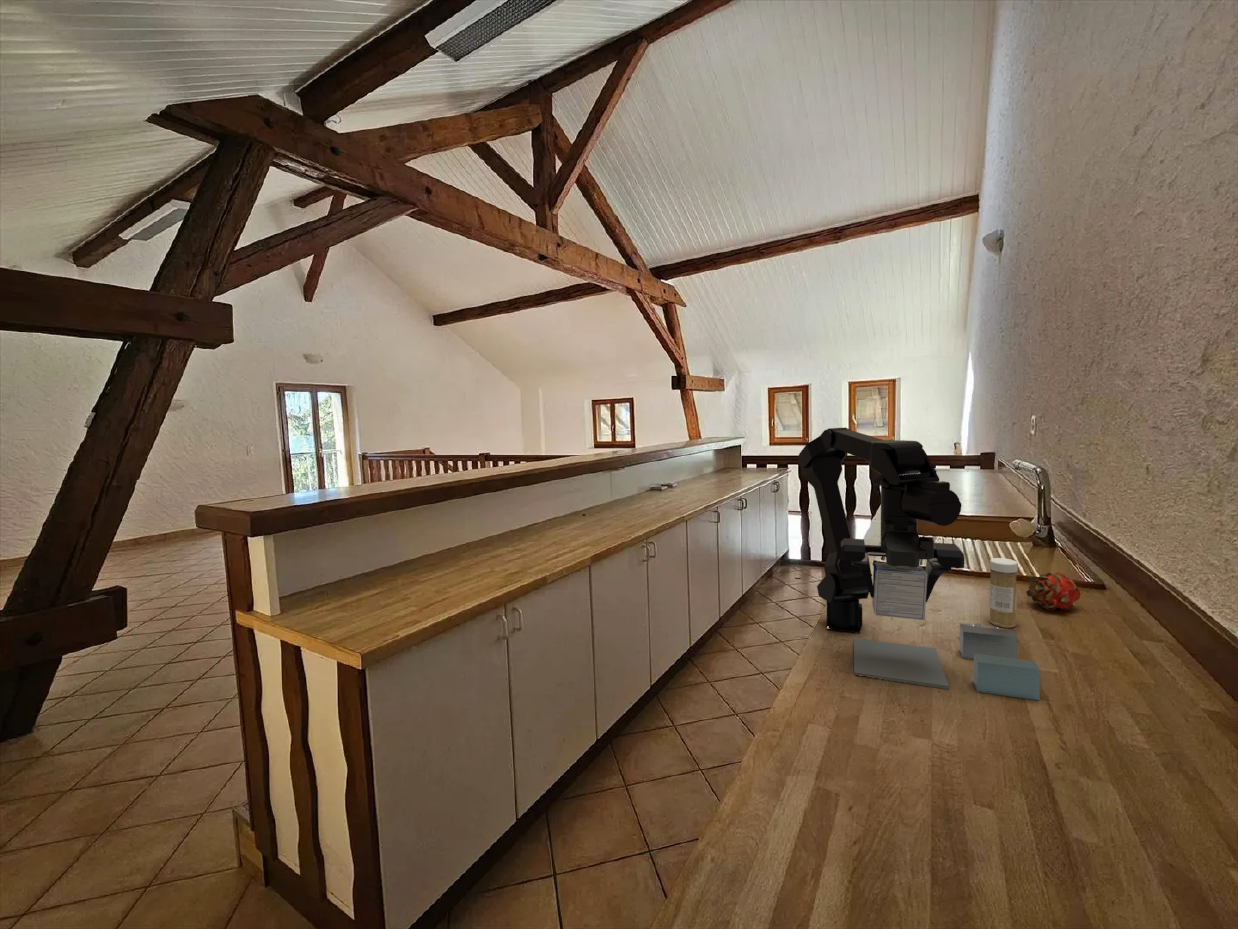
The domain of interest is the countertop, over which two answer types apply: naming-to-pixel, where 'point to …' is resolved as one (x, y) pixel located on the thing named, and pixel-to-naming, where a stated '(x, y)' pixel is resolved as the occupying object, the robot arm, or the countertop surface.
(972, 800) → the countertop surface
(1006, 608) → the sprinkles bottle
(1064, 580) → the dragon fruit
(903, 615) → the medicine box
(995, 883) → the countertop surface
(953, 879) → the countertop surface
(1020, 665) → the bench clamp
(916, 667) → the rubber mat
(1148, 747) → the countertop surface
